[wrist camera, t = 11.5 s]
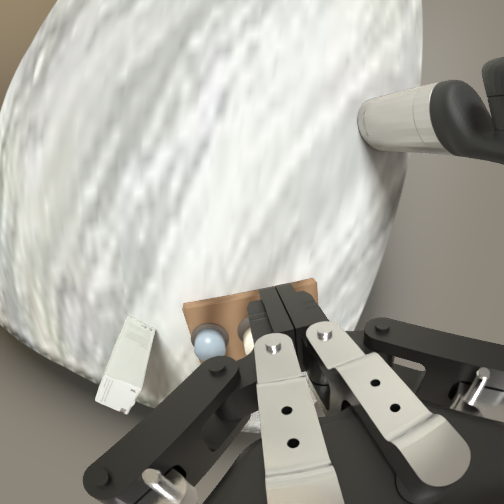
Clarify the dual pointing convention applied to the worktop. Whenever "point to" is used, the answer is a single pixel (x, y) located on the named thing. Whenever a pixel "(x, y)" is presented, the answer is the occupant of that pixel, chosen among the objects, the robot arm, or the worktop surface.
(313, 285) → the board
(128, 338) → the skincare box
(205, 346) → the button slate
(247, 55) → the worktop surface
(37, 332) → the worktop surface
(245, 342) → the button cream
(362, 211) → the worktop surface
